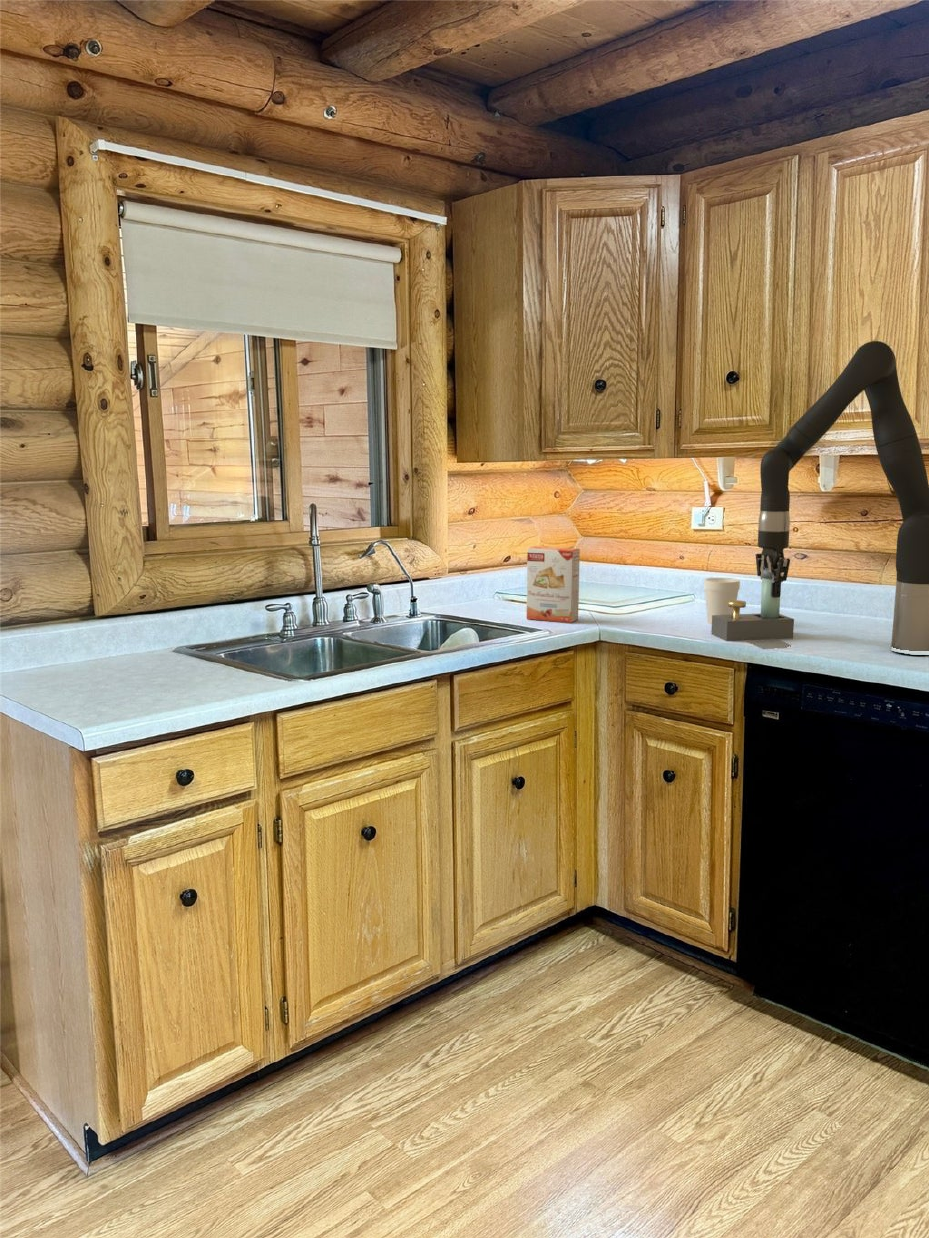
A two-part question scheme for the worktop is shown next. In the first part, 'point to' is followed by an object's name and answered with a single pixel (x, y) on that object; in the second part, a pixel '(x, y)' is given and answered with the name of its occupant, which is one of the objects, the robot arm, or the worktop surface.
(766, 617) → the cylinder
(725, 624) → the block
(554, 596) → the cracker box
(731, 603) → the brass plunger
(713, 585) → the foam cup
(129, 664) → the worktop surface
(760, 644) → the slate mat
